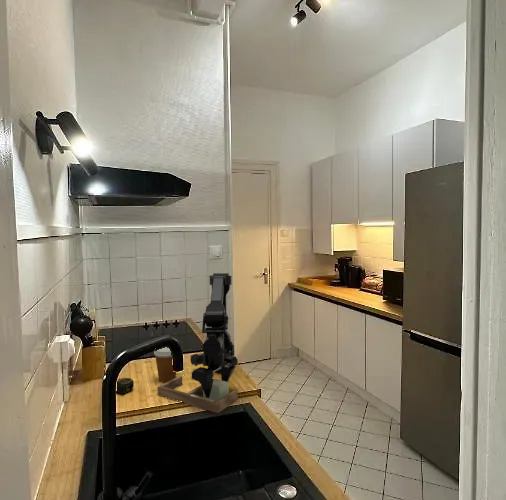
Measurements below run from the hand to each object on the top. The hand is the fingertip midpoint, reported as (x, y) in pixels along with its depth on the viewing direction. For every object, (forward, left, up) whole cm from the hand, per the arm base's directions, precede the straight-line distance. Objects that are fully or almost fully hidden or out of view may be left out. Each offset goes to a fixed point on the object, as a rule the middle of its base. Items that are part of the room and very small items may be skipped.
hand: (215, 392), depth 126 cm
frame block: (0, 0, -2) cm, 2 cm away
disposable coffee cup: (-4, -26, -2) cm, 26 cm away
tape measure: (+12, -32, -2) cm, 34 cm away
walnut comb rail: (+2, -6, -2) cm, 7 cm away
